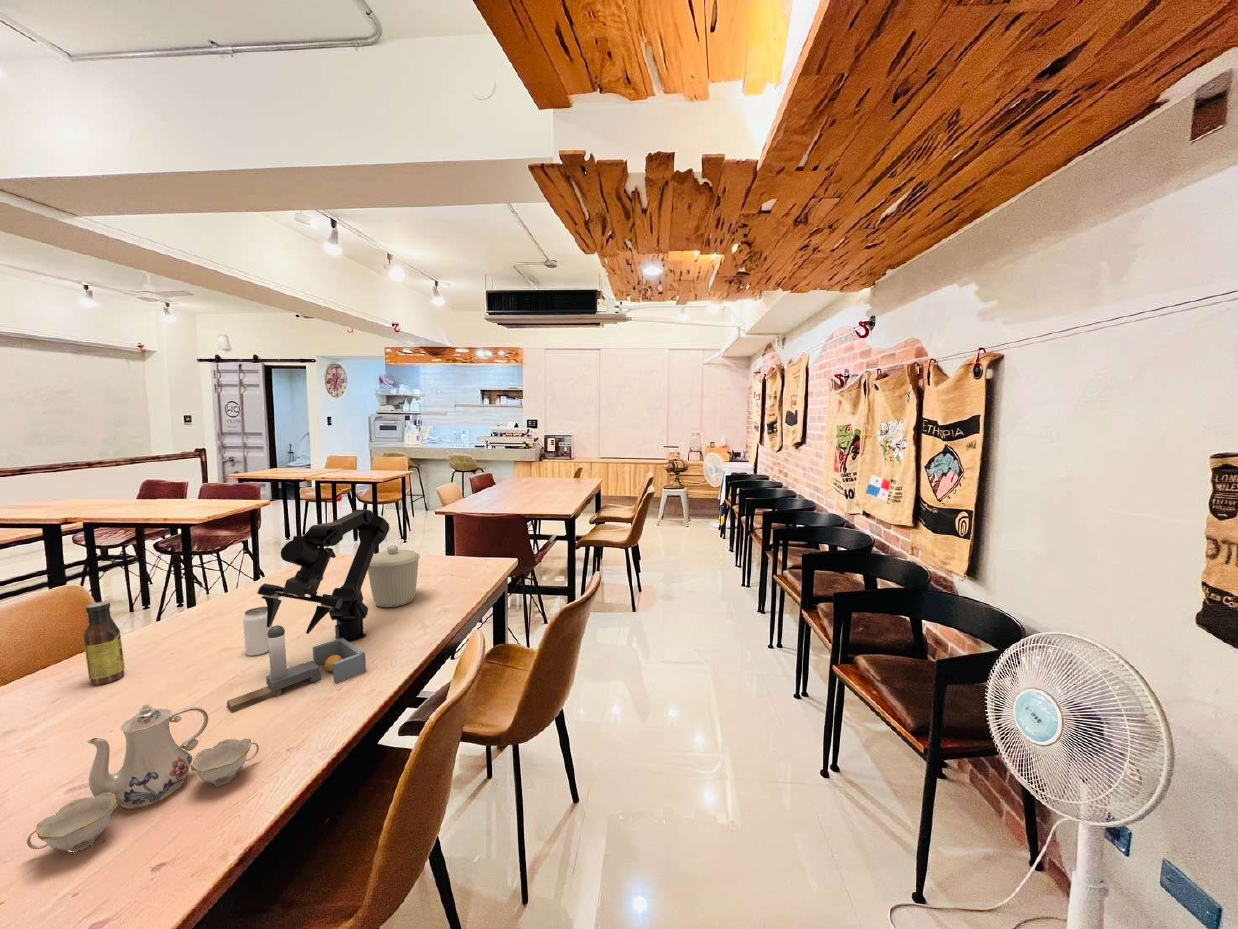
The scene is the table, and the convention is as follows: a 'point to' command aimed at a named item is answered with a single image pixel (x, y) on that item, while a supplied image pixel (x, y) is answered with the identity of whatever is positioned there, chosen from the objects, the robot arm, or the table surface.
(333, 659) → the ball
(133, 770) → the chinaware
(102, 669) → the sauce bottle
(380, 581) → the canister
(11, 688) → the table surface
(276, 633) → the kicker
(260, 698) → the rail
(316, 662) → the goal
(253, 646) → the can
